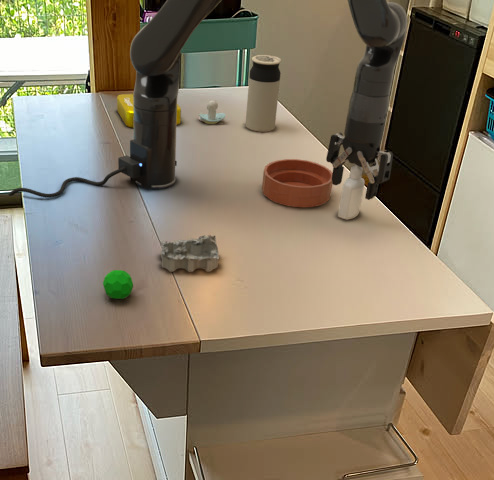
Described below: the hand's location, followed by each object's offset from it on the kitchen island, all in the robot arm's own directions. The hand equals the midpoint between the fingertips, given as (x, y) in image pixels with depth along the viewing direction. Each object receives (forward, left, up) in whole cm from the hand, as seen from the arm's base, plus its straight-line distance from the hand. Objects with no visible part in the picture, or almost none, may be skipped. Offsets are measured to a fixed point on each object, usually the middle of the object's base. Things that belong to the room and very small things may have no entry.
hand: (352, 191), depth 147 cm
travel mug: (+23, +48, -6) cm, 54 cm away
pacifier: (+15, +59, -6) cm, 61 cm away
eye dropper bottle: (0, 0, -6) cm, 6 cm away
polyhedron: (-57, +5, -6) cm, 58 cm away
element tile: (+3, +71, -6) cm, 71 cm away
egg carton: (-40, +6, -6) cm, 41 cm away
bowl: (-1, +14, -6) cm, 15 cm away
